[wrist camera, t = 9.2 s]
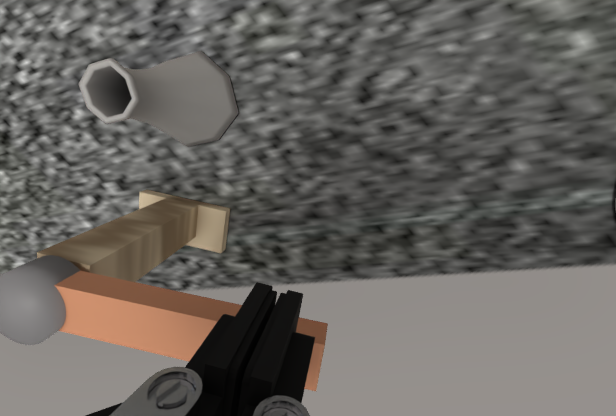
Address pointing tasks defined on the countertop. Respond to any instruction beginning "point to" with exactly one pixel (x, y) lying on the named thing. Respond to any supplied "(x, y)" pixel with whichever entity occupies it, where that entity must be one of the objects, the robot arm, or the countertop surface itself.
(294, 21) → the countertop surface
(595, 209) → the countertop surface
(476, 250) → the countertop surface
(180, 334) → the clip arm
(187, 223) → the post
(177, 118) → the flask
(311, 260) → the countertop surface
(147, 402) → the robot arm
